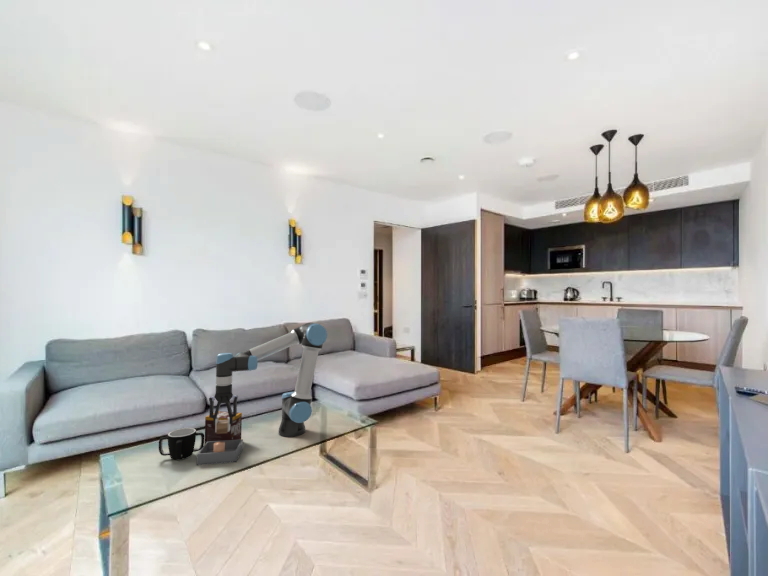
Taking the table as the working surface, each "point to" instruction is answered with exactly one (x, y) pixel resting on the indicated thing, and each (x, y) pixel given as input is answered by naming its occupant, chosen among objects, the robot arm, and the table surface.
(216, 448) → the terracotta canister
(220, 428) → the walnut cube
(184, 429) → the mug
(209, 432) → the supplement box
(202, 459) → the tray
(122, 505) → the table surface
